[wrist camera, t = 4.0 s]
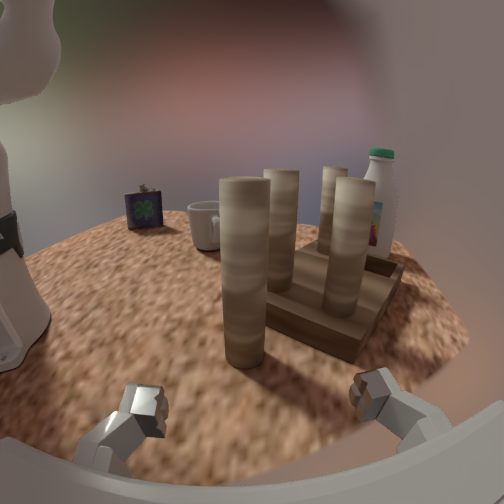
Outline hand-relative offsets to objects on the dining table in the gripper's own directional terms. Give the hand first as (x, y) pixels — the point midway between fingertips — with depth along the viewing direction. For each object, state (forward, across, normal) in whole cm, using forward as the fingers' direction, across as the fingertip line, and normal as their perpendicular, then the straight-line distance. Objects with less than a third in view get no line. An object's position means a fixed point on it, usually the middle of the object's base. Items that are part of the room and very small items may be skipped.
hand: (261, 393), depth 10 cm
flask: (+57, +22, +9) cm, 61 cm away
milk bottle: (+36, -26, +9) cm, 45 cm away
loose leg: (+12, 0, +9) cm, 15 cm away
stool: (+23, -12, +9) cm, 27 cm away
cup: (+40, +4, +9) cm, 42 cm away
